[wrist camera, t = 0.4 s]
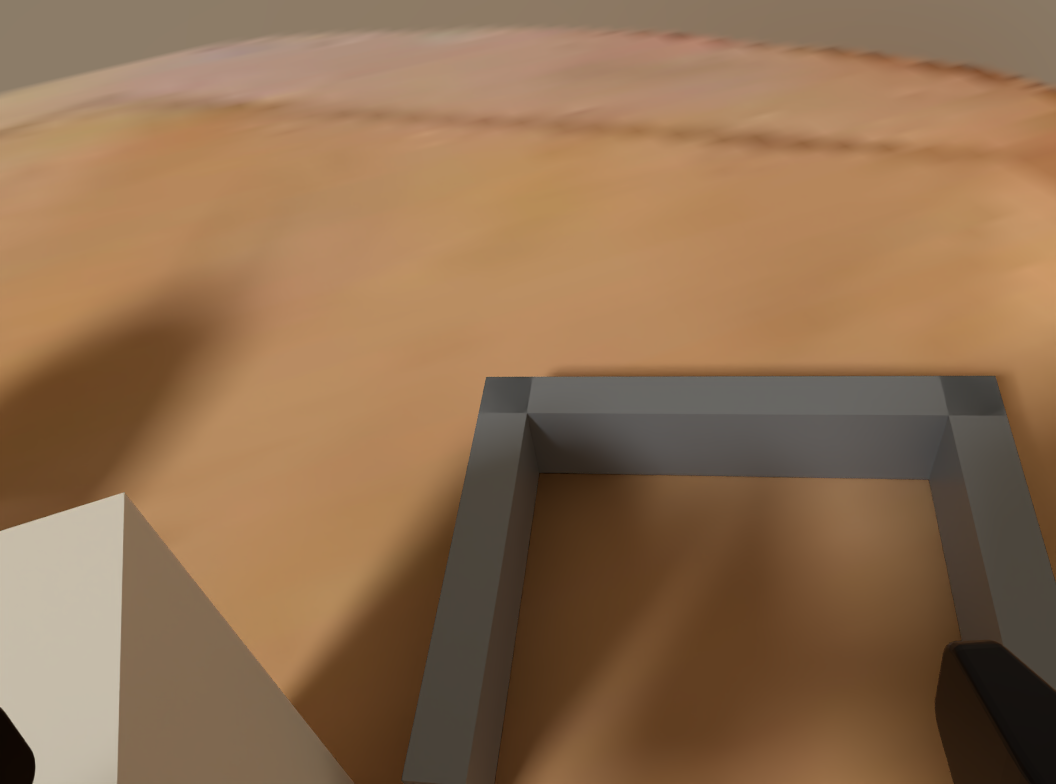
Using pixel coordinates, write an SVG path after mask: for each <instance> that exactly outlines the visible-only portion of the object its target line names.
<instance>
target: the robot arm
mask: <svg viewBox="0 0 1056 784" xmlns="http://www.w3.org/2000/svg"><path fill="white" fill-rule="evenodd" d="M935 713H936V720H937V725H938V729H939V733H940V736H941V740H942V743H943V747H944V751H945V754H946V758H947V761H948V765H949V768H950V772H951V775H952V779H953V783H954V784H1056V690H1055V689H1053V688H1052V687H1051V686H1050V685H1049V684H1048V683H1047V682H1045V681H1044V680H1043V679H1042V678H1041V677H1040V676H1038V675H1037V674H1036V673H1035V672H1034V671H1033V670H1031V669H1030V668H1029V667H1028V666H1027V665H1026V664H1024V663H1023V662H1022V661H1021V660H1020V659H1019V658H1018V657H1016V656H1015V655H1014V654H1013V653H1012V652H1011V651H1009V650H1008V649H1007V648H1006V647H1005V646H1003V645H1002V644H1000V643H998V642H996V641H994V640H987V639H984V640H969V641H954V642H951V643H949V644H948V645H947V646H946V647H945V649H944V652H943V657H942V663H941V669H940V674H939V680H938V686H937V692H936V698H935ZM35 768H36V765H35V757H34V754H33V751H32V750H31V748H30V747H29V745H28V744H27V742H26V741H25V739H24V738H23V737H22V735H21V734H20V732H19V731H18V729H17V728H16V727H15V725H14V724H13V722H12V721H11V720H10V718H9V717H8V715H7V714H6V712H5V711H4V710H3V709H2V708H1V707H0V784H33V781H34V777H35Z"/></svg>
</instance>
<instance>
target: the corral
mask: <svg viewBox="0 0 1056 784" xmlns="http://www.w3.org/2000/svg"><path fill="white" fill-rule="evenodd" d="M539 473H589V474H646V475H702V476H758V477H814V478H871V479H927V480H929V483H930V488H931V492H932V497H933V502H934V507H935V512H936V517H937V522H938V527H939V531H940V536H941V541H942V546H943V551H944V556H945V561H946V566H947V570H948V575H949V580H950V585H951V590H952V595H953V600H954V604H955V609H956V614H957V619H958V624H959V629H960V634H961V639H962V641H969V640H984V639H987V640H994V641H996V642H998V643H1000V644H1002V645H1003V646H1005V647H1006V648H1007V649H1008V650H1009V651H1011V652H1012V653H1013V654H1014V655H1015V656H1016V657H1018V658H1019V659H1020V660H1021V661H1022V662H1023V663H1024V664H1026V665H1027V666H1028V667H1029V668H1030V669H1031V670H1033V671H1034V672H1035V673H1036V674H1037V675H1038V676H1040V677H1041V678H1042V679H1043V680H1044V681H1045V682H1047V683H1048V684H1049V685H1050V686H1051V687H1052V688H1053V689H1055V690H1056V582H1055V579H1054V575H1053V572H1052V569H1051V565H1050V562H1049V558H1048V555H1047V551H1046V548H1045V545H1044V541H1043V538H1042V534H1041V531H1040V527H1039V524H1038V521H1037V517H1036V514H1035V510H1034V507H1033V503H1032V500H1031V497H1030V493H1029V490H1028V486H1027V483H1026V479H1025V476H1024V473H1023V469H1022V466H1021V462H1020V459H1019V455H1018V452H1017V449H1016V445H1015V442H1014V438H1013V435H1012V432H1011V428H1010V425H1009V421H1008V418H1007V414H1006V411H1005V408H1004V404H1003V401H1002V397H1001V394H1000V390H999V387H998V384H997V380H996V377H995V376H710V377H486V381H485V386H484V390H483V395H482V400H481V405H480V409H479V414H478V419H477V424H476V428H475V433H474V438H473V443H472V447H471V452H470V457H469V462H468V466H467V471H466V476H465V481H464V485H463V490H462V495H461V500H460V504H459V509H458V514H457V519H456V523H455V528H454V533H453V538H452V542H451V547H450V552H449V557H448V561H447V566H446V571H445V576H444V580H443V585H442V590H441V595H440V599H439V604H438V609H437V614H436V618H435V623H434V628H433V633H432V637H431V642H430V647H429V652H428V656H427V661H426V666H425V671H424V675H423V680H422V685H421V690H420V694H419V699H418V704H417V709H416V713H415V718H414V723H413V728H412V732H411V737H410V742H409V747H408V751H407V756H406V761H405V766H404V770H403V775H402V782H403V783H404V784H494V783H495V776H496V769H497V763H498V756H499V749H500V742H501V735H502V728H503V721H504V714H505V707H506V700H507V693H508V686H509V680H510V673H511V666H512V659H513V652H514V645H515V638H516V631H517V624H518V617H519V610H520V603H521V596H522V590H523V583H524V576H525V569H526V562H527V555H528V548H529V541H530V534H531V527H532V520H533V513H534V506H535V500H536V493H537V486H538V479H539Z"/></svg>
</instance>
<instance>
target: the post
mask: <svg viewBox="0 0 1056 784" xmlns="http://www.w3.org/2000/svg"><path fill="white" fill-rule="evenodd" d="M0 707H1V708H2V709H3V710H4V711H5V712H6V714H7V715H8V717H9V718H10V720H11V721H12V722H13V724H14V725H15V727H16V728H17V729H18V731H19V732H20V734H21V735H22V737H23V738H24V739H25V741H26V742H27V744H28V745H29V747H30V748H31V750H32V751H33V754H34V757H35V765H36V768H35V777H34V781H33V784H355V783H354V782H353V781H352V780H351V778H350V777H349V776H348V774H347V773H346V772H345V771H344V769H343V768H342V767H341V766H340V764H339V763H338V762H337V761H336V759H335V758H334V757H333V756H332V754H331V753H330V752H329V750H328V749H327V748H326V747H325V745H324V744H323V743H322V742H321V740H320V739H319V738H318V737H317V735H316V734H315V733H314V731H313V730H312V729H311V728H310V726H309V725H308V724H307V723H306V721H305V720H304V719H303V718H302V716H301V715H300V714H299V713H298V711H297V710H296V709H295V707H294V706H293V705H292V704H291V702H290V701H289V700H288V699H287V697H286V696H285V695H284V694H283V692H282V691H281V690H280V688H279V687H278V686H277V685H276V683H275V682H274V681H273V680H272V678H271V677H270V676H269V675H268V673H267V672H266V671H265V669H264V668H263V667H262V666H261V664H260V663H259V662H258V661H257V659H256V658H255V657H254V656H253V654H252V653H251V652H250V651H249V649H248V648H247V647H246V645H245V644H244V643H243V642H242V640H241V639H240V638H239V637H238V635H237V634H236V633H235V632H234V630H233V629H232V628H231V626H230V625H229V624H228V623H227V621H226V620H225V619H224V618H223V616H222V615H221V614H220V613H219V611H218V610H217V609H216V608H215V606H214V605H213V604H212V602H211V601H210V600H209V599H208V597H207V596H206V595H205V594H204V592H203V591H202V590H201V589H200V587H199V586H198V585H197V583H196V582H195V581H194V580H193V578H192V577H191V576H190V575H189V573H188V572H187V571H186V570H185V568H184V567H183V566H182V565H181V563H180V562H179V561H178V559H177V558H176V557H175V556H174V554H173V553H172V552H171V551H170V549H169V548H168V547H167V546H166V544H165V543H164V542H163V540H162V539H161V538H160V537H159V535H158V534H157V533H156V532H155V530H154V529H153V528H152V527H151V525H150V524H149V523H148V522H147V520H146V519H145V518H144V516H143V515H142V514H141V513H140V511H139V510H138V509H137V508H136V506H135V505H134V504H133V503H132V501H131V500H130V499H129V497H128V496H127V495H126V494H125V492H124V493H121V494H117V495H114V496H111V497H108V498H105V499H101V500H98V501H95V502H92V503H89V504H85V505H82V506H79V507H76V508H73V509H69V510H66V511H63V512H60V513H56V514H53V515H50V516H47V517H44V518H40V519H37V520H34V521H31V522H28V523H24V524H21V525H18V526H15V527H12V528H8V529H5V530H2V531H0Z"/></svg>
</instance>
